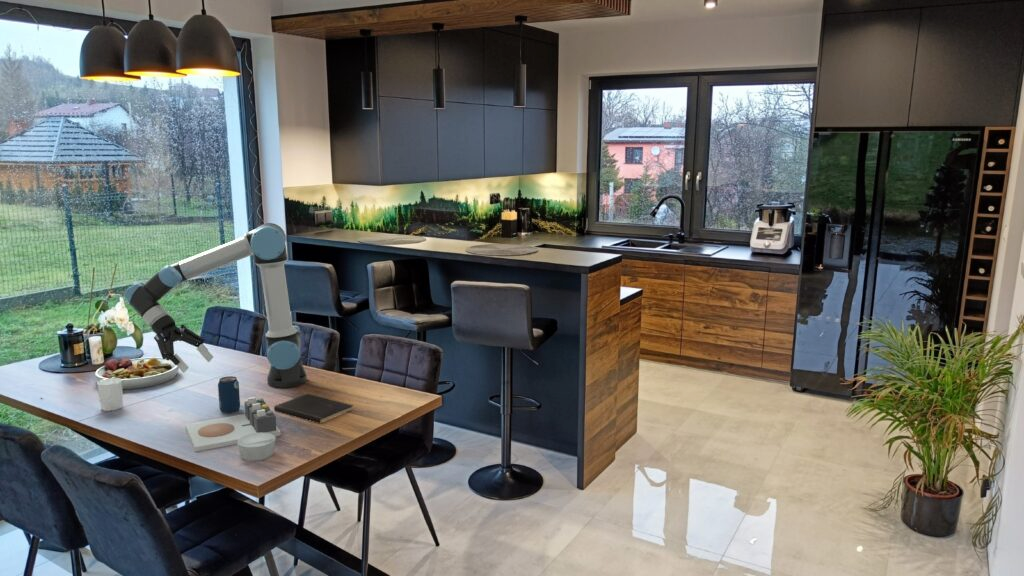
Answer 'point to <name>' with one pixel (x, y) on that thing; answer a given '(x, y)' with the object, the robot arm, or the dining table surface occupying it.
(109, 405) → the white cup
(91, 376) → the dining table surface
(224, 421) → the breaker board
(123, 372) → the bowl
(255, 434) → the ramekin
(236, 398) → the soda can
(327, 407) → the hardcover book
